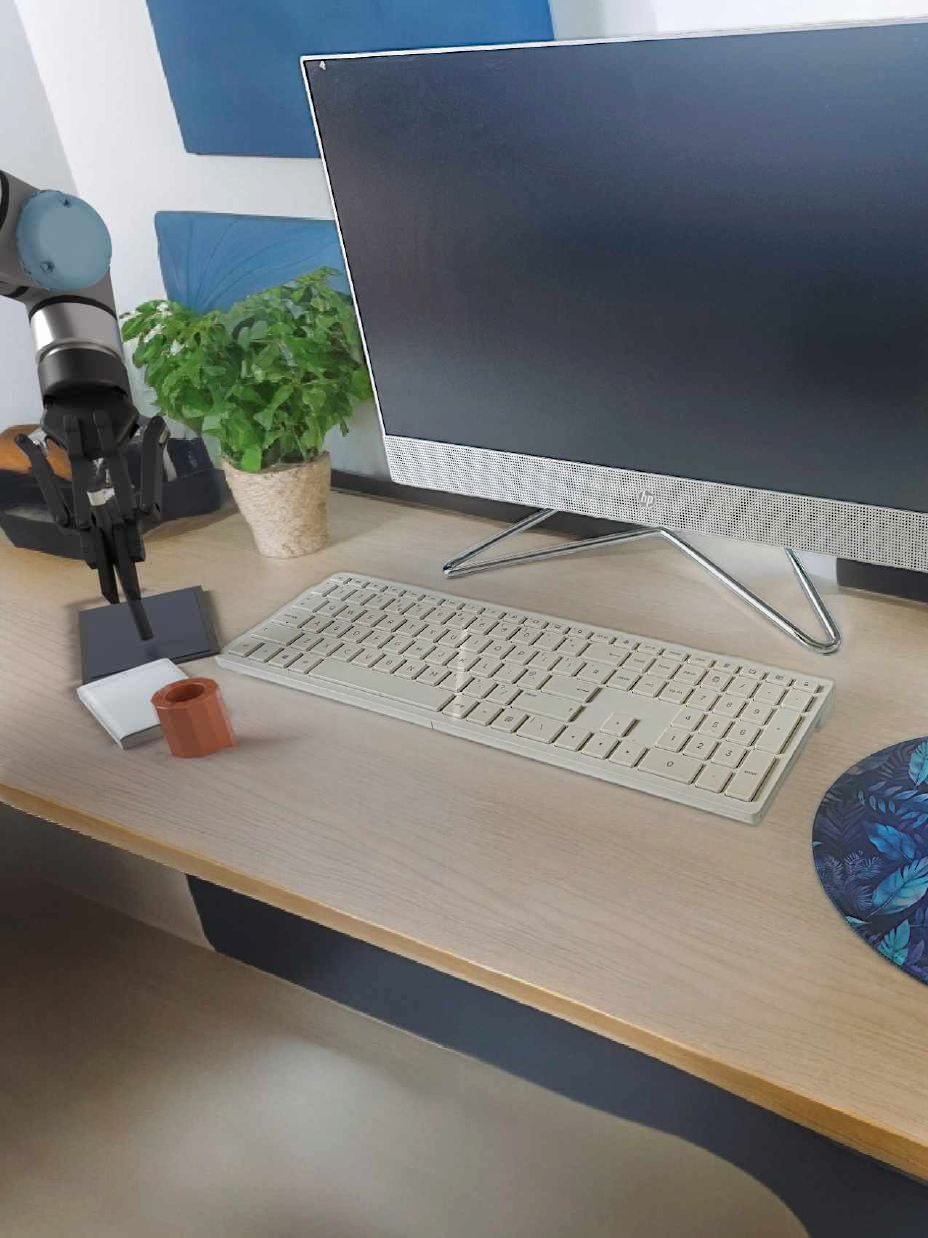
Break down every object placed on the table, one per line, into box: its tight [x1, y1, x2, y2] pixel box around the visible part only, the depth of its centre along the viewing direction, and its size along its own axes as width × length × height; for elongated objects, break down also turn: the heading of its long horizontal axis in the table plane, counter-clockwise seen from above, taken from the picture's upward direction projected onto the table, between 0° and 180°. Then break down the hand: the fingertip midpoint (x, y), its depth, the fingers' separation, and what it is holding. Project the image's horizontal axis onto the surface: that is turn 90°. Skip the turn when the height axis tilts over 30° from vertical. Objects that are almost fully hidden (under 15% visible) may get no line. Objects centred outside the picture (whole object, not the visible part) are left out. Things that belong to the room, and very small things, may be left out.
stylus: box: [87, 485, 154, 641], centre depth 110 cm, size 1×1×15 cm
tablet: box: [77, 584, 222, 686], centre depth 118 cm, size 18×12×1 cm, turn 27°
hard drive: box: [76, 658, 191, 751], centre depth 105 cm, size 2×8×12 cm
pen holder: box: [150, 677, 238, 759], centre depth 96 cm, size 5×5×6 cm
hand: (121, 596), depth 108 cm, fingers closed on stylus
